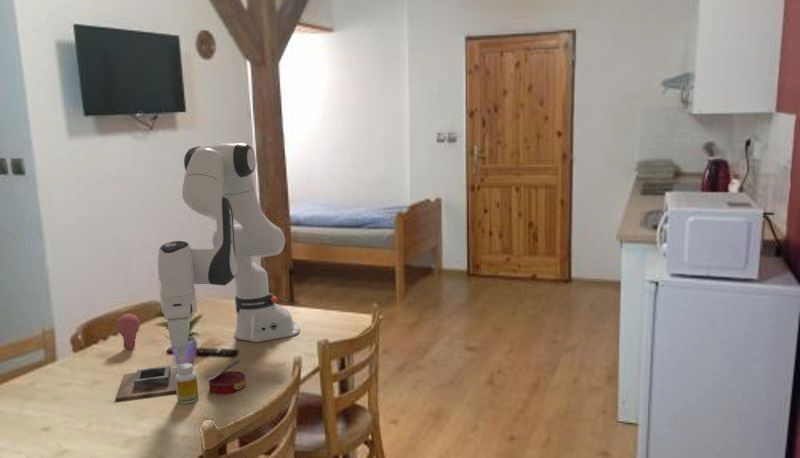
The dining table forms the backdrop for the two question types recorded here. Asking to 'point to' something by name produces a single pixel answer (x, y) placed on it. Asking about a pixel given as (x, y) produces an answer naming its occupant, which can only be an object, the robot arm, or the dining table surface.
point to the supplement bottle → (186, 384)
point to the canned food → (227, 381)
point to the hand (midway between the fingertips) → (183, 354)
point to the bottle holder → (148, 383)
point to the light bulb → (128, 329)
